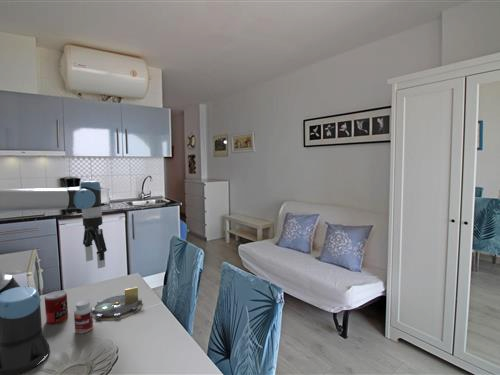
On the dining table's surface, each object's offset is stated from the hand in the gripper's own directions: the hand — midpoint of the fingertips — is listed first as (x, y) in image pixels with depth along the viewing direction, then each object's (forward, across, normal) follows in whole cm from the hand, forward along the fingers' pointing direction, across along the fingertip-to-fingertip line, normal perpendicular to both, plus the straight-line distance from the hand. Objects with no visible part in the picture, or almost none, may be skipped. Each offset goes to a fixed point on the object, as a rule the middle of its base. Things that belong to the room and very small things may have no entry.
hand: (95, 263), depth 127 cm
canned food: (+22, +5, +14) cm, 26 cm away
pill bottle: (+22, -12, +10) cm, 26 cm away
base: (+21, -5, -6) cm, 23 cm away
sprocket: (+21, -5, -6) cm, 23 cm away
